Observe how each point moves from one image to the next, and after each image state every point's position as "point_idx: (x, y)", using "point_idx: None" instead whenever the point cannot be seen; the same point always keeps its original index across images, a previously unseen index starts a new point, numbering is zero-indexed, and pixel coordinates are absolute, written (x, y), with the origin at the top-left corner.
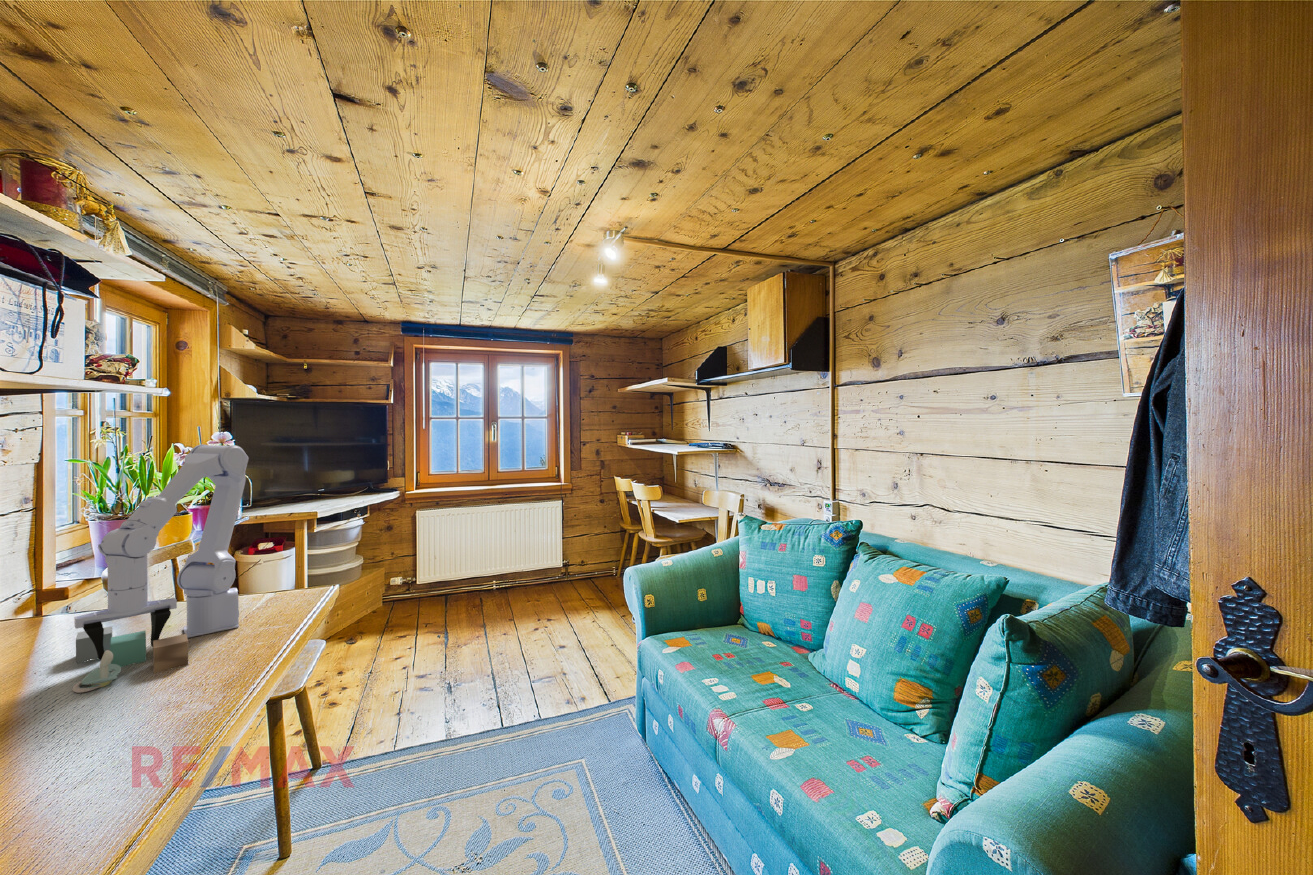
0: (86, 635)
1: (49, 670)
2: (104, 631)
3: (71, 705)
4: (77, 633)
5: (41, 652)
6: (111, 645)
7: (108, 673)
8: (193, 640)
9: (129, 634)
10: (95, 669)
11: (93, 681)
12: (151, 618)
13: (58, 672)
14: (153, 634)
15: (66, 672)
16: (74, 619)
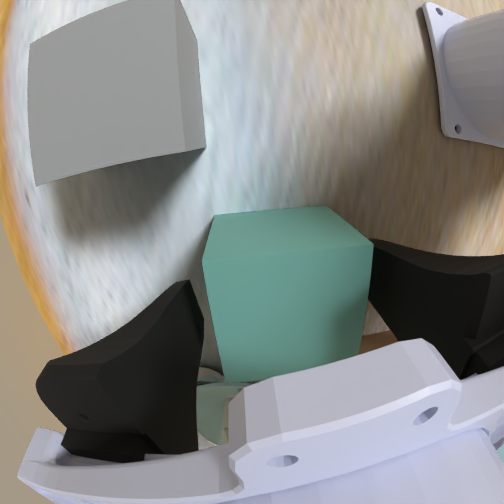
0: (61, 124)
1: (49, 195)
2: (138, 86)
3: (200, 445)
4: (29, 61)
5: (24, 3)
6: (229, 379)
7: (236, 391)
8: (452, 173)
9: (296, 269)
10: (201, 387)
11: (221, 443)
12: (441, 297)
13: (78, 236)
14: (388, 308)
15: (100, 253)
16: (22, 462)
